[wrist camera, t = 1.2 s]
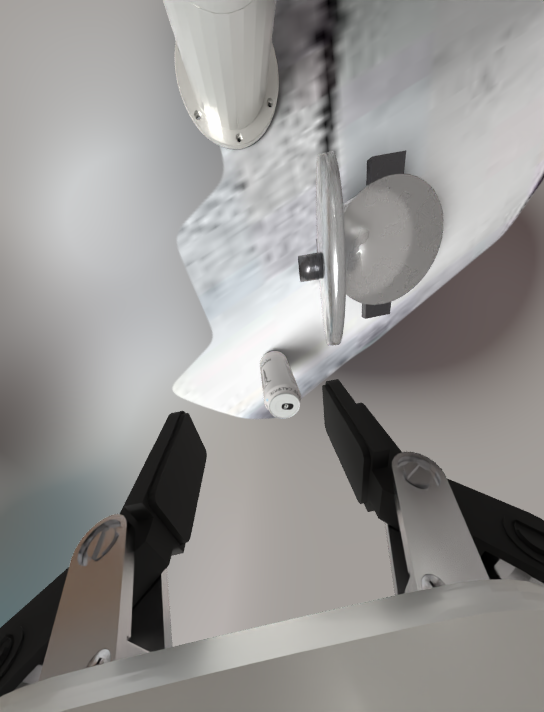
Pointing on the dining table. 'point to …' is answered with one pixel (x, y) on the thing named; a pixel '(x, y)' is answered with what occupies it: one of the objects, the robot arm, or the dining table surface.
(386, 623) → the robot arm
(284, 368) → the energy drink can
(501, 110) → the dining table surface
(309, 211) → the dining table surface
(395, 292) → the pot
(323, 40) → the dining table surface
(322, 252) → the lid
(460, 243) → the dining table surface
